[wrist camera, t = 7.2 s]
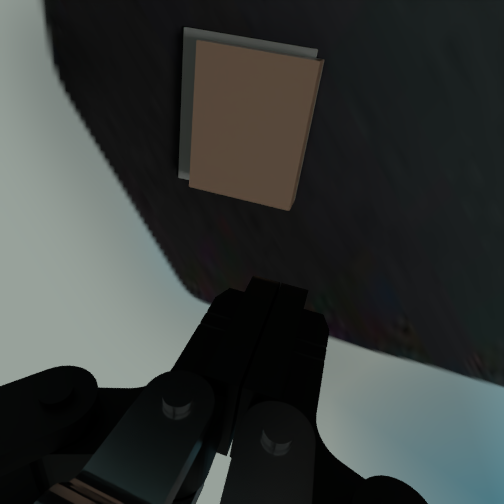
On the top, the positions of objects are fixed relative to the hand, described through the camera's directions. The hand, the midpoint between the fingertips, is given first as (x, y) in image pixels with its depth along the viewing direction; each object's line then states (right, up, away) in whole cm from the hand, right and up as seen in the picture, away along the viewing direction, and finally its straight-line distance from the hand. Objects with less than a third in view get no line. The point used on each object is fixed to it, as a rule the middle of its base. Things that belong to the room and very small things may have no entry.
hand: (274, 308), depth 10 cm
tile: (+3, +9, +16) cm, 19 cm away
